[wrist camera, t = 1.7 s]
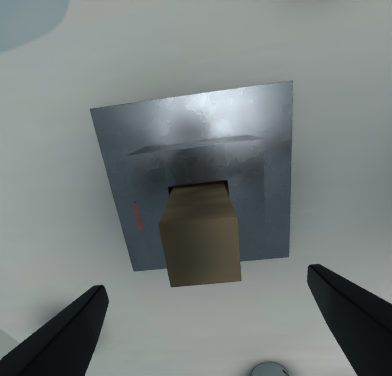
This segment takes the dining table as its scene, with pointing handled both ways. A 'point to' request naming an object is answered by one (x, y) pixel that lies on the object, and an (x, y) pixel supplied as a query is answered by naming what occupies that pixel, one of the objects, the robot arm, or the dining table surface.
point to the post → (200, 235)
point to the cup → (269, 370)
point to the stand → (202, 163)
